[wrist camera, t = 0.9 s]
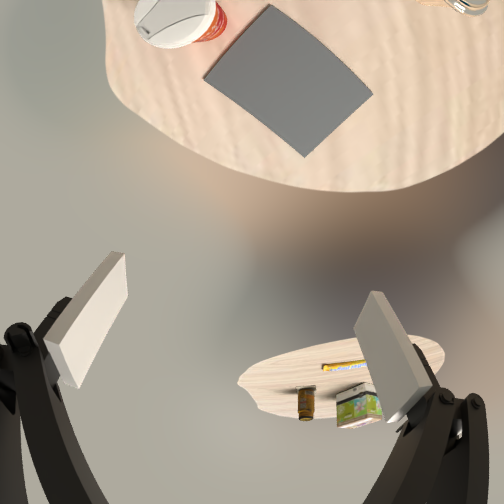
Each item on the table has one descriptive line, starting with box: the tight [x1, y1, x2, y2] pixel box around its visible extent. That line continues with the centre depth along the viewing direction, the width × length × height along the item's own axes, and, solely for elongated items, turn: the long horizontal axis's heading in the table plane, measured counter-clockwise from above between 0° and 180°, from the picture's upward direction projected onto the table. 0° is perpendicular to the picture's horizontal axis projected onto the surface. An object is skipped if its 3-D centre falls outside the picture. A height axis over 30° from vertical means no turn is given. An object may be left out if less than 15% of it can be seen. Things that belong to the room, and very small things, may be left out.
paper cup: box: [134, 0, 227, 49], centre depth 21 cm, size 8×8×14 cm
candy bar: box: [323, 360, 367, 371], centre depth 78 cm, size 17×4×2 cm, turn 102°
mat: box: [204, 5, 373, 158], centre depth 31 cm, size 18×14×1 cm
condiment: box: [296, 386, 316, 421], centre depth 89 cm, size 7×8×12 cm
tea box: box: [336, 383, 382, 429], centre depth 89 cm, size 15×10×15 cm
